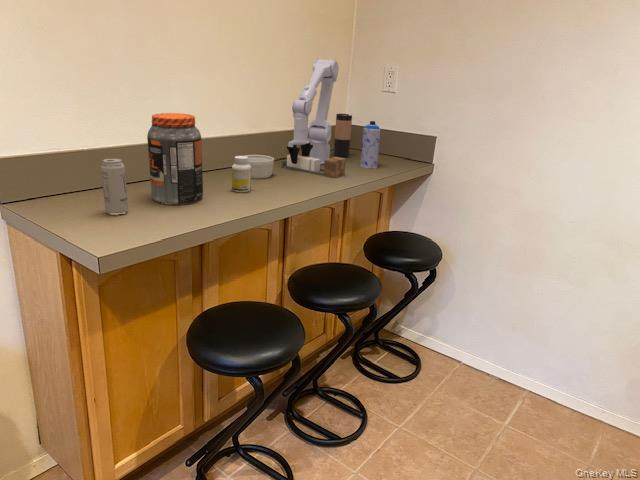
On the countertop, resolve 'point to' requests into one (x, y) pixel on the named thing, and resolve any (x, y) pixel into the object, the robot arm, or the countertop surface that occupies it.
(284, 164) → the guide channel
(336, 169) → the socket block
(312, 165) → the banded cream case
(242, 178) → the pill bottle
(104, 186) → the energy drink can
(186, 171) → the supplement tub
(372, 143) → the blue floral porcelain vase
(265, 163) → the ramekin
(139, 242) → the countertop surface
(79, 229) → the countertop surface
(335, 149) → the travel mug
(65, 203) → the countertop surface
